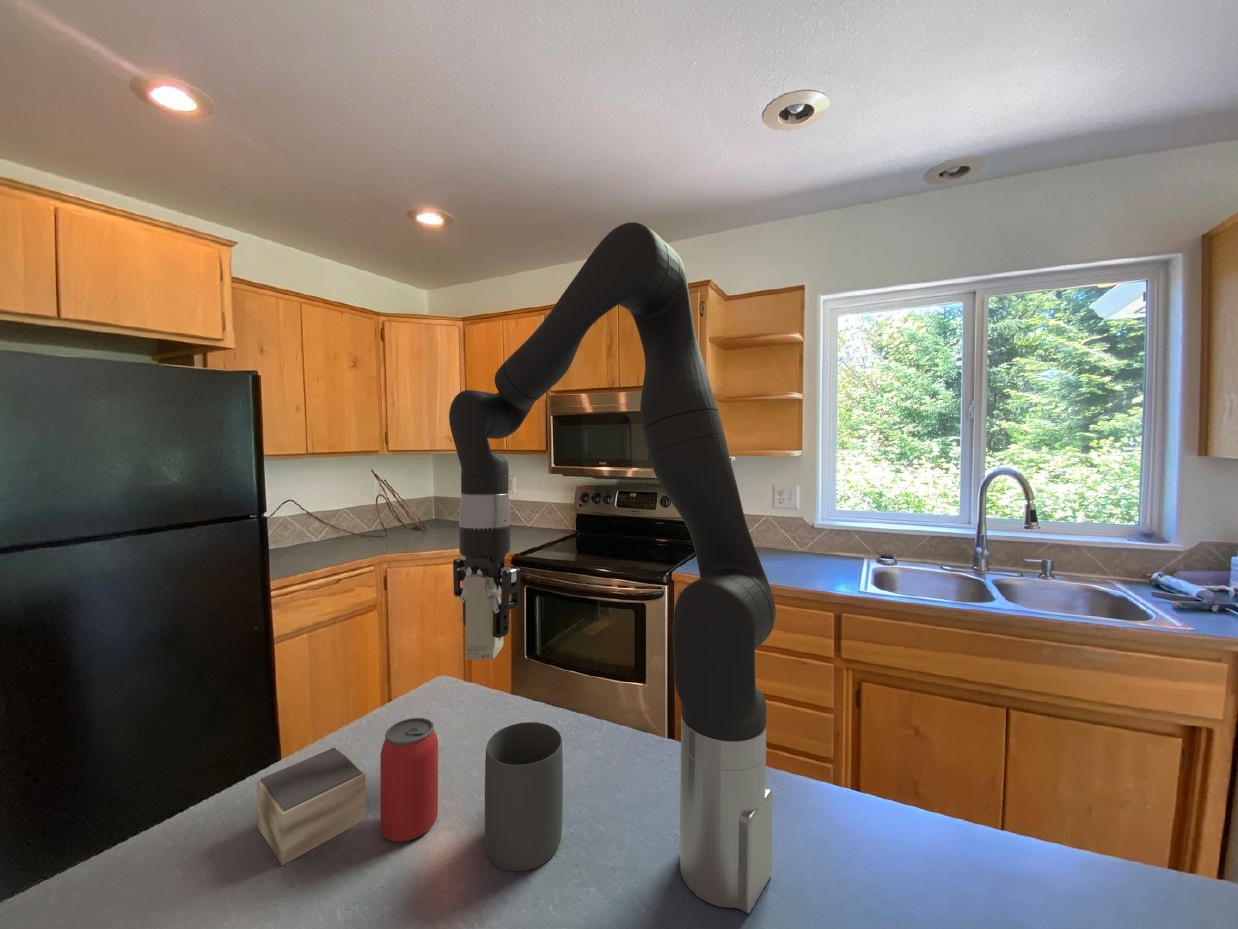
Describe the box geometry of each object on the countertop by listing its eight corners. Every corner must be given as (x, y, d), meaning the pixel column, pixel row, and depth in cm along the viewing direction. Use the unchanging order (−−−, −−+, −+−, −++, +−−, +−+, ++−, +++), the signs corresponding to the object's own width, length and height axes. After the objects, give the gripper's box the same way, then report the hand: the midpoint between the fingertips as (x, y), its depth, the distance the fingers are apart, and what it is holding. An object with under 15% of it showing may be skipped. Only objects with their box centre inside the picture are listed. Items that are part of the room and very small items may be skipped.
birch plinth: (365, 819, 61) (365, 772, 61) (282, 865, 54) (282, 812, 54) (335, 788, 67) (335, 745, 67) (257, 827, 60) (257, 779, 60)
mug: (556, 874, 54) (557, 767, 53) (474, 873, 54) (474, 765, 53) (570, 790, 67) (570, 704, 67) (504, 789, 67) (504, 703, 67)
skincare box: (493, 661, 71) (493, 578, 71) (464, 661, 71) (464, 577, 71) (504, 644, 78) (504, 568, 77) (477, 644, 78) (477, 568, 78)
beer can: (417, 850, 57) (417, 748, 57) (367, 840, 58) (368, 741, 58) (448, 810, 63) (448, 718, 63) (403, 802, 64) (403, 712, 64)
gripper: (535, 524, 73) (535, 634, 73) (477, 517, 82) (478, 615, 82) (494, 530, 67) (494, 649, 67) (437, 521, 76) (437, 627, 76)
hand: (485, 630), depth 74 cm, fingers closed on skincare box, 7 cm apart
